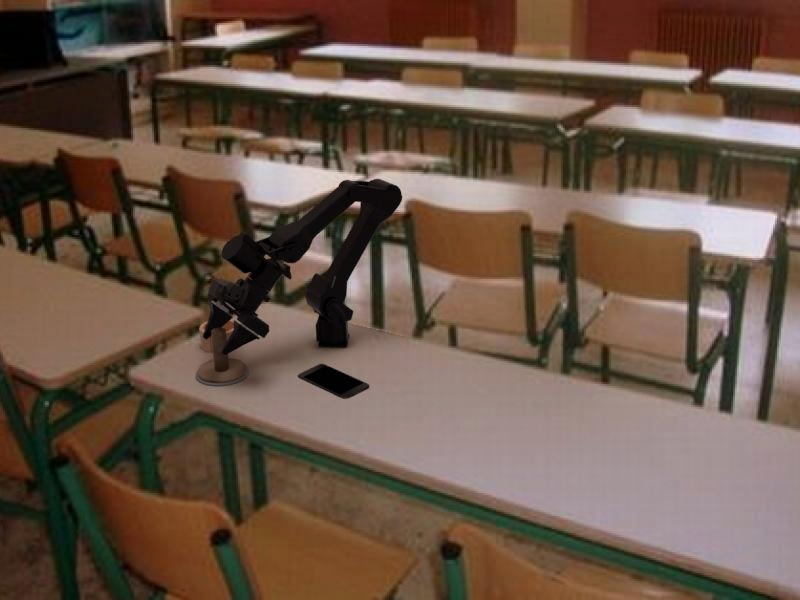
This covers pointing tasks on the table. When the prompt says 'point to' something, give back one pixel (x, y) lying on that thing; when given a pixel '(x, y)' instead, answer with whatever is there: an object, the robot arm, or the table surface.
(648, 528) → the table surface
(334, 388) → the smartphone
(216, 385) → the mat
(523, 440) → the table surface
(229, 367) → the post with round base
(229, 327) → the bowl
